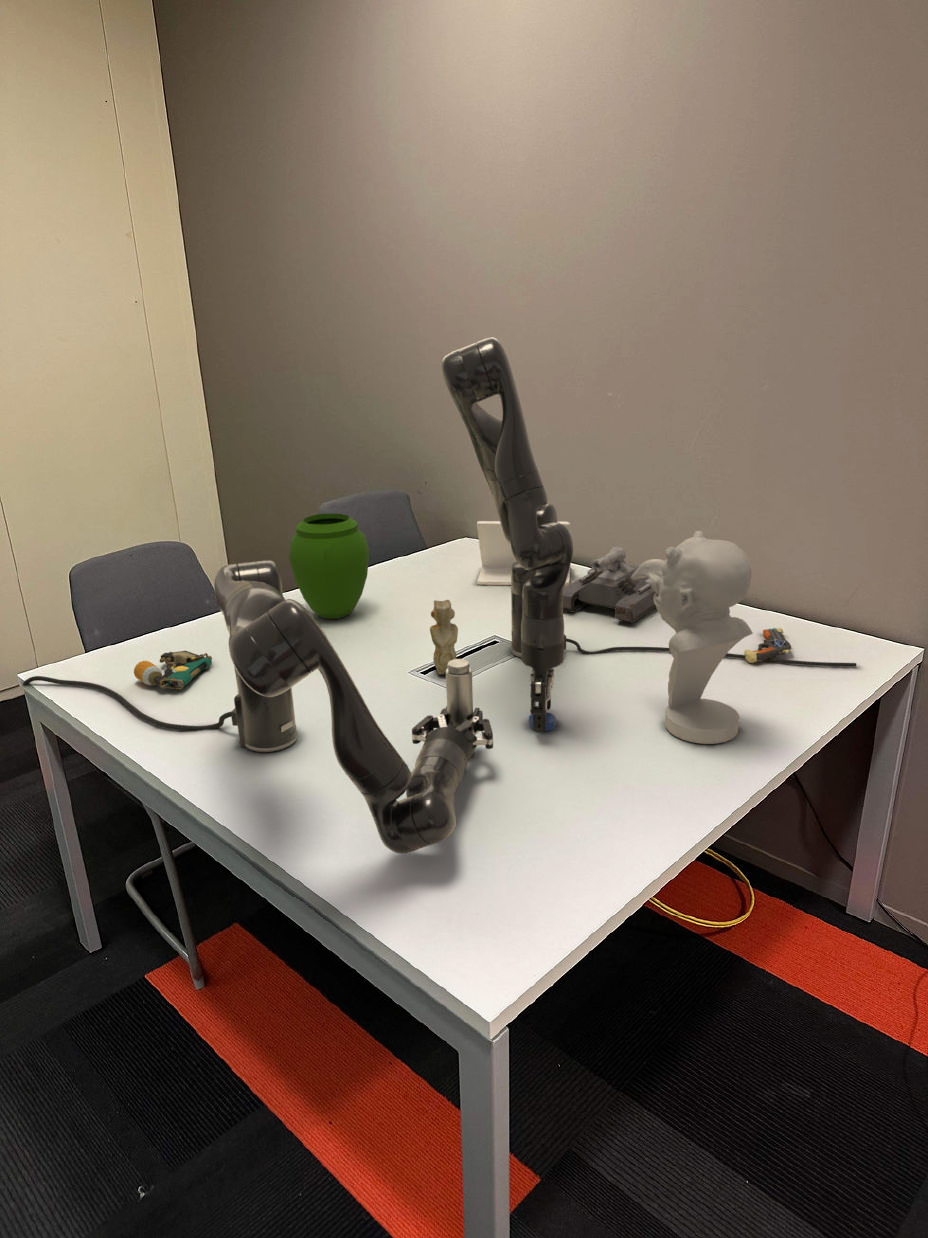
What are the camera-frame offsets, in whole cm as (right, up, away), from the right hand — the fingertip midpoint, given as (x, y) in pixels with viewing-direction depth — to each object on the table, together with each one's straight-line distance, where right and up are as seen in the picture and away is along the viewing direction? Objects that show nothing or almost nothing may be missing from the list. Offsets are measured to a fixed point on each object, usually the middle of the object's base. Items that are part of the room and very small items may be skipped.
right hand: (542, 719), depth 155 cm
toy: (+24, +22, +59) cm, 67 cm away
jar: (-15, -5, -8) cm, 17 cm away
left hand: (-14, +2, -8) cm, 17 cm away
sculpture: (-18, +7, +24) cm, 31 cm away
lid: (0, 0, 0) cm, 0 cm away
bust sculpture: (+25, -1, 0) cm, 25 cm away
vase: (-47, +19, +59) cm, 77 cm away
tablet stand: (+3, +30, +84) cm, 89 cm away
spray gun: (-75, +6, +26) cm, 79 cm away
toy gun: (+51, +12, +30) cm, 61 cm away
